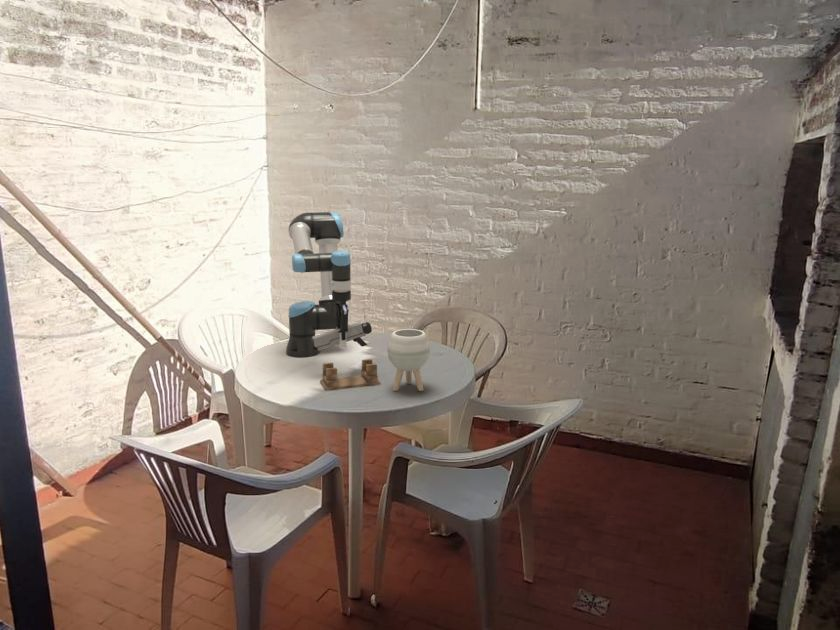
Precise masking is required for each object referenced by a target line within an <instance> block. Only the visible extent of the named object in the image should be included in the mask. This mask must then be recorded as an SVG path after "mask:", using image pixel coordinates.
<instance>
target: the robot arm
mask: <svg viewBox="0 0 840 630" xmlns="http://www.w3.org/2000/svg"><path fill="white" fill-rule="evenodd" d="M288 236H289V237H290V239H291V240H292V244H293V245H292V246H293V251H294V254H292V256H291V267H292V272H294V273H301V274H303V273H318V272H319V274H320V288H321V289H320V290H321V291H320V292H321V298H320V299H319V300H318V304H315V302H314V301H313V300H308V301H307V300H304V301H299V302H295V303H293V304H291V305H290V306H289V308H288V322H289V323H288V324H289V325H288V329H289V338H288V341H287V343H286V347H285V349H286V350H285V351H286V353H285V354H286V355H287V356H289V357H294V358H308V357H313V356H316V355H318V354H320V351H321V350H319V351H318V349H317V347H315V346H314V343H312V341H311V338H312V337H313V336H316V331H320V330H321V331H322V330H323V331H324V330H336V329H339V328H340V331H338V332H339V335H340V344H338V345H337V346H339V348H340V349H344V348H347V346H348V345H347V343H348V341H347V340H346V332H348V326H349V305H348V303H347V302H349V301H351V299H352V292H351V289H352V283H351V282H352V279H351V262H352V260H351V253H350V252H349V251H345V250H339V249H338V248H339V247H338V244H340V242H341V238H344V224H343V220H342V217H341V214H339V213H338V212H331V211H325V212H321V211H320V212H304V213H301V214H299V215H297V216H295V217H294V218H293V219H292V220H291V222H289V225H288ZM311 239H314V242H315V243H316V244H317V245H318V252H319V253H318V252H317V253H314V248H313V246H312V245H313V244H312V240H311Z"/></svg>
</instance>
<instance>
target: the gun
mask: <svg viewBox="0 0 840 630" xmlns="http://www.w3.org/2000/svg"><path fill="white" fill-rule="evenodd" d="M338 331H340V328H339V329H332V330H330V331H329V330H328V331H326V332H323V333H319V334H315V336H313V337H312V338H311V341H312V343H314V346H315V347H317V349H318V351H319V350H320V351H323V350H325V349H327V348H331V347H334V346H338V344H340V335H339V332H338ZM372 331H373V329H372V325H371V323H370V322H368V321H367V322H362V323H361V322H355V323H352V324H348V332H346V340H347V342H350V341H353V342H355V343H357V344H358V345H359V346H360V347H365V346H368V343H366V342H365V341H364V340H363V338H362V337H365V336H367V335H368V334H370V333H372Z"/></svg>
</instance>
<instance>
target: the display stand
mask: <svg viewBox="0 0 840 630" xmlns="http://www.w3.org/2000/svg"><path fill="white" fill-rule="evenodd" d="M360 372H361V373H360V375H356V376H355V375H354V376H345V377H344V376H343V377H338V368H337V367H334V363H333V362H328V363H327V362H324V363H322V375H321V376H322V377H321V378H322V379H319V383H320V384H321V386H322V387H323V389H324V391H333V390H334V391H335V390H341V389H343V390H344V389H351V388H352V389H353V388H359V387H369V386H378V385H381V381H380V380H379V376H378V364H377V363H373V359H372V358H366V359H361V371H360Z"/></svg>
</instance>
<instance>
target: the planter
mask: <svg viewBox="0 0 840 630" xmlns="http://www.w3.org/2000/svg"><path fill="white" fill-rule="evenodd" d="M430 348H431V347H430V343H429V338H428V336H427V333H425V332H424V331H423V330H422V329H421V330H420V329H415V328H404V329H397V330H394V331H393V332H392V333H391V335H390V336H389V340H388V345H387V357H388V359H389V361H390V363H391V364H392V366H393V367H395V369H396V374H395V378H394V379H395V380H394V383H393V387H392V389H393V391H394V392H397V391H399V388H400V385H401V383H402V380H403V374H404V373H405V382H406V384H407V385H410V384H412V380H413V377H414V381H415V384H416V387H417V391H418V392H423V391H424V386H423V380H422V376H421V375H422V374H421V368H423V367H424V366H425V364H426V363H427V362H428V360H429V358H430V352H431V351H430V350H431V349H430ZM412 376H413V377H412Z"/></svg>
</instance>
